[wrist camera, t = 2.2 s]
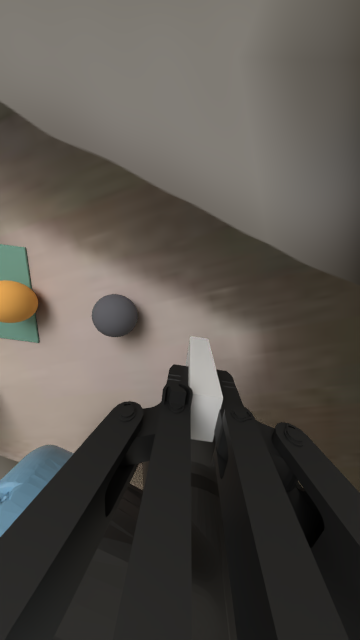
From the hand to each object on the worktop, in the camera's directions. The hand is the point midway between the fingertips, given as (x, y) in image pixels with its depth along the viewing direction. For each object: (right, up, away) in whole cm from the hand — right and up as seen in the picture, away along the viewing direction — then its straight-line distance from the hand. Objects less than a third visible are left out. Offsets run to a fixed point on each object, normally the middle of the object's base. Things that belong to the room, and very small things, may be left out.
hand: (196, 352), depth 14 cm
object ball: (-24, +5, +8) cm, 25 cm away
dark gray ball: (-10, +3, +8) cm, 13 cm away
